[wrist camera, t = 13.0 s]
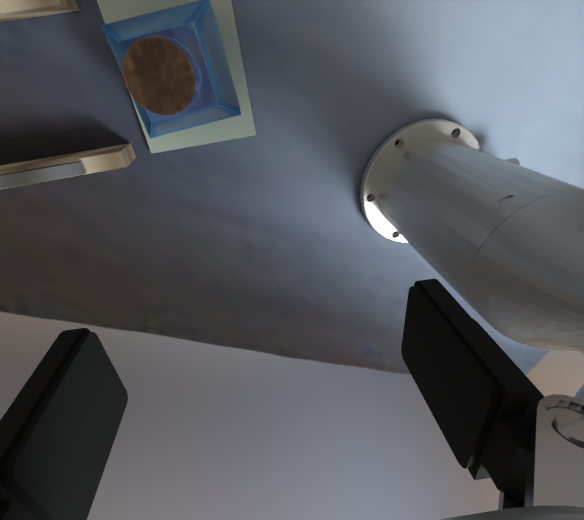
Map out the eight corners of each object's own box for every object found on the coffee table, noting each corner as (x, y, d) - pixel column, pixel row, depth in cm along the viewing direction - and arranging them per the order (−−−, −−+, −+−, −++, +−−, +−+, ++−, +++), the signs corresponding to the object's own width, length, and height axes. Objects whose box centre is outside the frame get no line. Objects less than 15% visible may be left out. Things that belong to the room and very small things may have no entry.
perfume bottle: (129, 33, 24) (53, 12, 13) (213, 11, 24) (201, -25, 14) (165, 123, 27) (126, 161, 17) (239, 104, 27) (244, 130, 17)
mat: (225, -30, 23) (225, -32, 23) (255, 134, 29) (256, 135, 28) (95, -11, 22) (92, -13, 22) (152, 152, 28) (151, 153, 28)
